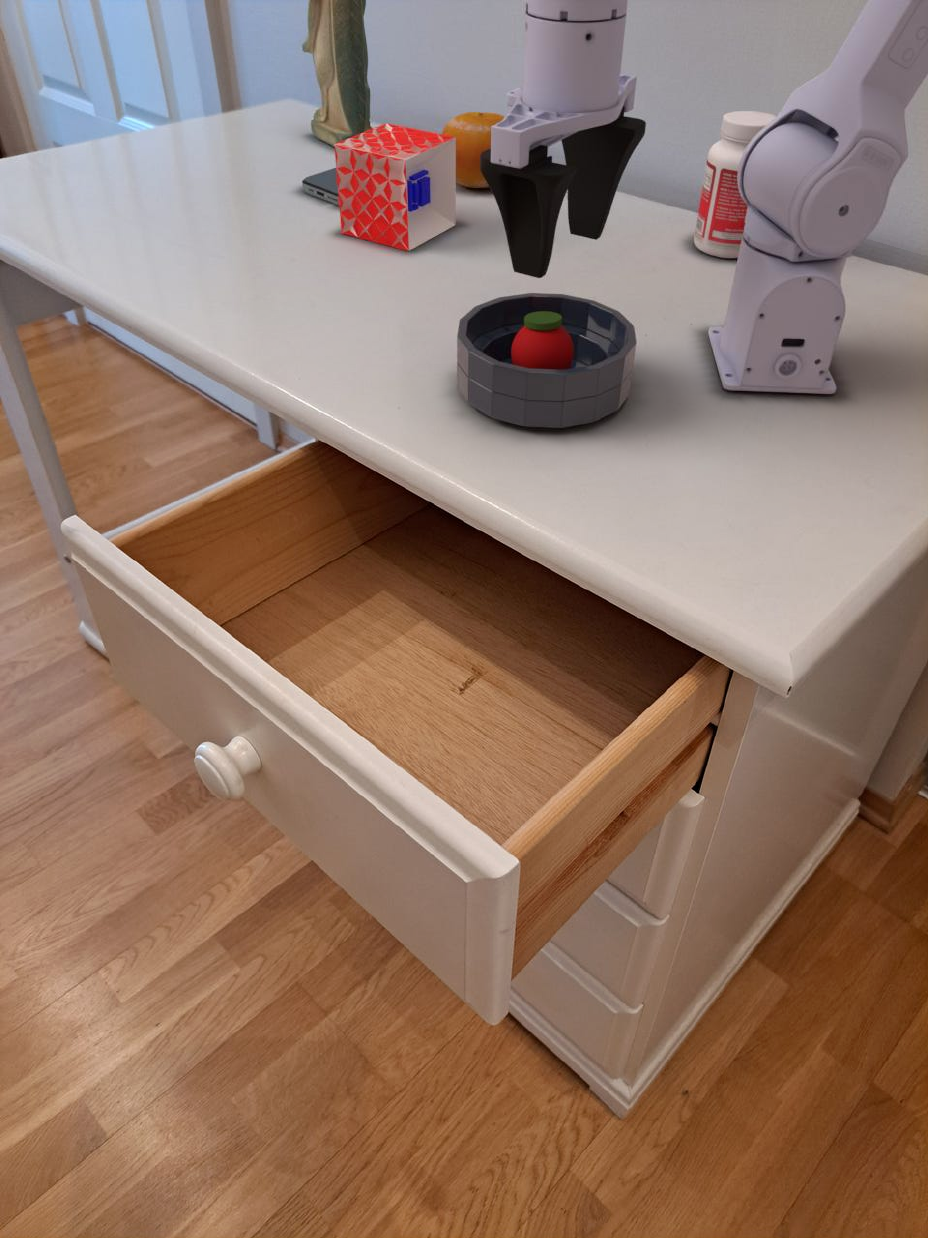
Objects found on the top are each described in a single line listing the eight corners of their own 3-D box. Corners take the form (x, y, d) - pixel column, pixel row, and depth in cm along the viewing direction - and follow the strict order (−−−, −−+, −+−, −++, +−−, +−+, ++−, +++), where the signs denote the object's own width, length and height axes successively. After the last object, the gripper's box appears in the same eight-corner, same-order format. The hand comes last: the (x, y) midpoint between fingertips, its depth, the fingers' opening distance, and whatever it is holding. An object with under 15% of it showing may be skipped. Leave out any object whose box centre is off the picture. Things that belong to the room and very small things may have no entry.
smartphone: (296, 178, 96) (403, 142, 104) (299, 195, 97) (404, 158, 105) (342, 196, 92) (450, 158, 100) (344, 213, 93) (451, 174, 101)
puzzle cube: (390, 208, 93) (386, 122, 88) (455, 224, 90) (455, 136, 85) (341, 233, 88) (333, 144, 83) (408, 251, 85) (405, 159, 80)
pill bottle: (773, 251, 86) (804, 120, 78) (726, 265, 83) (753, 131, 76) (725, 230, 89) (750, 103, 82) (678, 243, 87) (699, 113, 79)
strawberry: (573, 394, 64) (576, 327, 62) (510, 394, 65) (510, 327, 62) (571, 370, 68) (574, 306, 65) (511, 370, 68) (512, 306, 65)
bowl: (632, 437, 62) (642, 376, 59) (451, 430, 62) (451, 369, 59) (622, 352, 71) (629, 295, 68) (464, 346, 71) (464, 290, 68)
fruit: (530, 134, 100) (498, 71, 94) (535, 189, 96) (501, 127, 90) (461, 167, 104) (426, 109, 97) (463, 221, 100) (426, 164, 94)
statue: (346, 126, 114) (327, -134, 97) (387, 142, 110) (375, -128, 92) (299, 137, 111) (271, -131, 94) (340, 153, 106) (319, -125, 89)
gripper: (574, -15, 58) (558, 209, 67) (444, 26, 49) (447, 277, 58) (678, -3, 55) (647, 228, 65) (560, 42, 46) (544, 303, 56)
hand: (558, 253), depth 61 cm, fingers open, 7 cm apart
